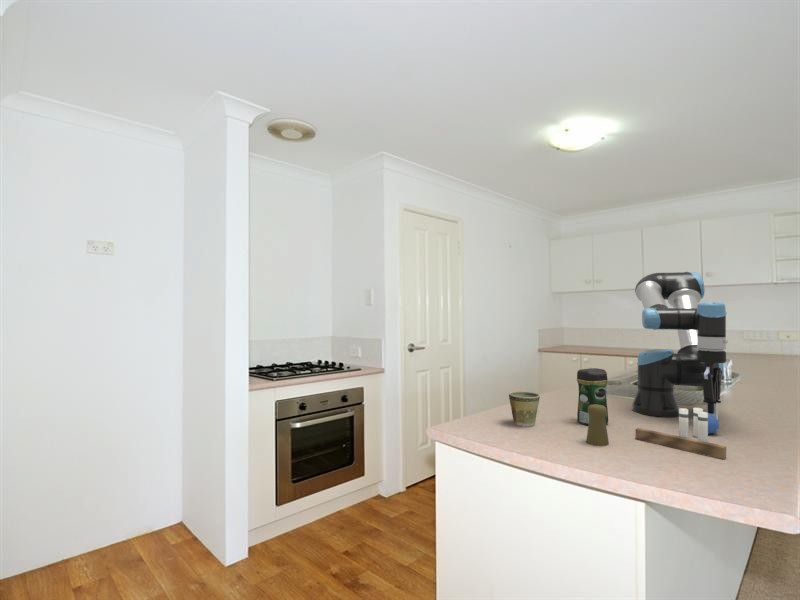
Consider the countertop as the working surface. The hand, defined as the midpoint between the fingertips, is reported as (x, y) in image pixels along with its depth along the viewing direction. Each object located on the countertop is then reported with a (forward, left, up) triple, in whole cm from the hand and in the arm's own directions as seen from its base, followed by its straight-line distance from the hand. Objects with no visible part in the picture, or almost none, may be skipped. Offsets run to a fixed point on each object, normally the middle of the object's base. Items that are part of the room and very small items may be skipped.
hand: (712, 423), depth 141 cm
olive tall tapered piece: (-24, -38, -2) cm, 45 cm away
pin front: (-2, -12, -2) cm, 12 cm away
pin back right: (-1, -17, -2) cm, 17 cm away
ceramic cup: (-49, -32, -2) cm, 58 cm away
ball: (-1, -6, +1) cm, 6 cm away
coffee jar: (-32, -17, -2) cm, 36 cm away
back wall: (-5, -28, -2) cm, 29 cm away
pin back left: (-6, -16, -2) cm, 17 cm away
